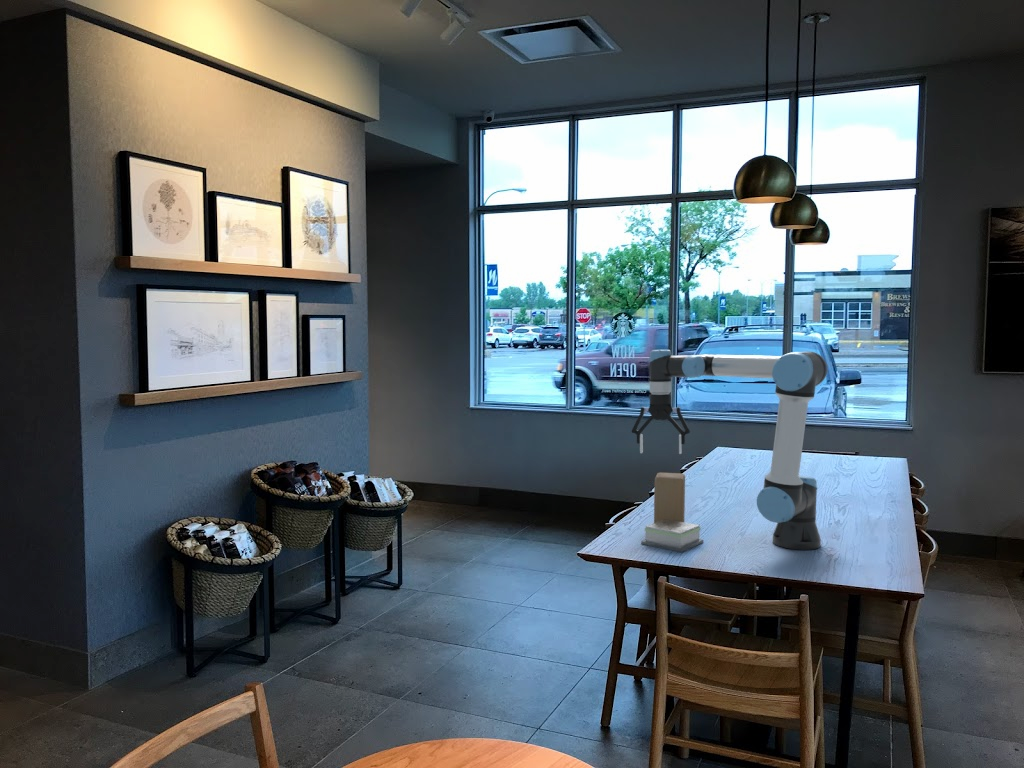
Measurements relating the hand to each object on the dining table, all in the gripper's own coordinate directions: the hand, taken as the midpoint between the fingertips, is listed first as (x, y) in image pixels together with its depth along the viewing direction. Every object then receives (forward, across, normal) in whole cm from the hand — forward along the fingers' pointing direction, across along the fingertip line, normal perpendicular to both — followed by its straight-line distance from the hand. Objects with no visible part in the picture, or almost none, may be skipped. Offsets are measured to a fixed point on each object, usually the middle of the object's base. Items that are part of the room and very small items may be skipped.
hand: (660, 453), depth 284 cm
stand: (+28, -5, +17) cm, 33 cm away
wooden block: (+28, -3, +1) cm, 28 cm away
